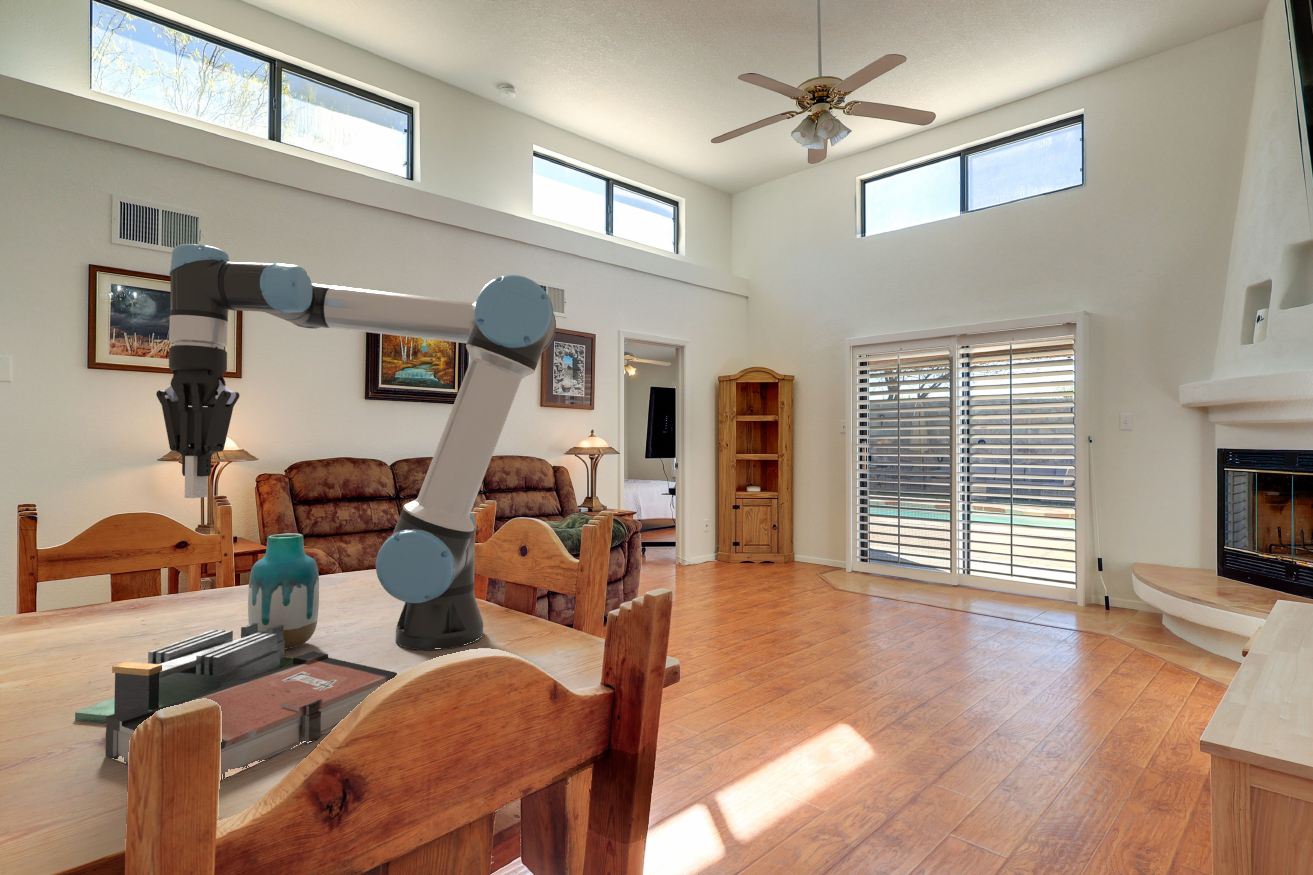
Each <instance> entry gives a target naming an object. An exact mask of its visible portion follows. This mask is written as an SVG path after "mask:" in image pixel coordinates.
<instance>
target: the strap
mask: <svg viewBox="0 0 1313 875" xmlns="http://www.w3.org/2000/svg"><path fill="white" fill-rule="evenodd" d="M244 638H245V637H244ZM239 639H242V638H241V637H240V638H238V639H235V640H234V639H233V641H231V642H234V641H237V640H239ZM231 642H228V643H225V644H222V645H218V646H215V647H212V648H209V649H206V650H203V651H199V652H196V653H193V654H190V655H187V656H184V657H180V658H177V659H174V660H171V661H168V662H165V663H161V664H160V665H162V671H161V672H159V678H162V677H165V676H168V675H171V674H174V673H177V672H180V671H183V670H185V669H188V668H191V667H194V666H196V656H197V655H199V654H202V653H205V652H207V651H210V650H213V649H215V648H218V647H221V646H223V645H226V644H229V643H231Z"/></svg>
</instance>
